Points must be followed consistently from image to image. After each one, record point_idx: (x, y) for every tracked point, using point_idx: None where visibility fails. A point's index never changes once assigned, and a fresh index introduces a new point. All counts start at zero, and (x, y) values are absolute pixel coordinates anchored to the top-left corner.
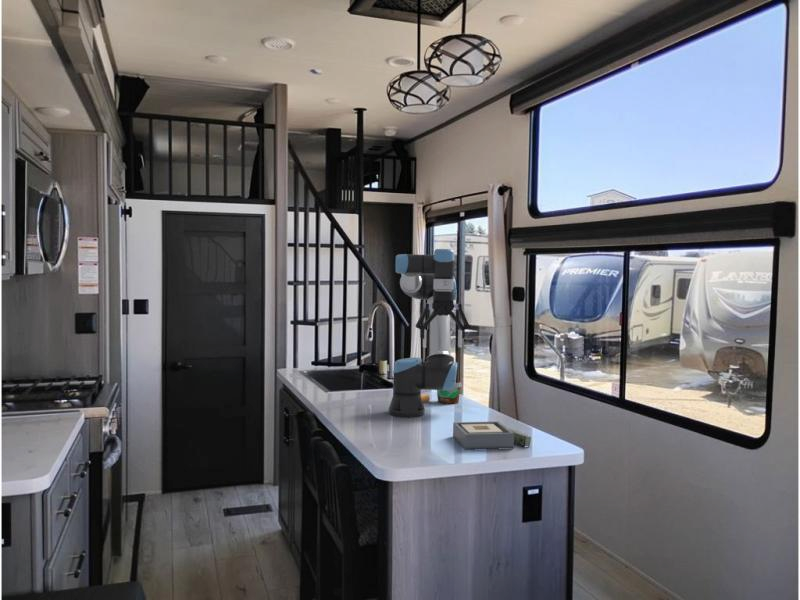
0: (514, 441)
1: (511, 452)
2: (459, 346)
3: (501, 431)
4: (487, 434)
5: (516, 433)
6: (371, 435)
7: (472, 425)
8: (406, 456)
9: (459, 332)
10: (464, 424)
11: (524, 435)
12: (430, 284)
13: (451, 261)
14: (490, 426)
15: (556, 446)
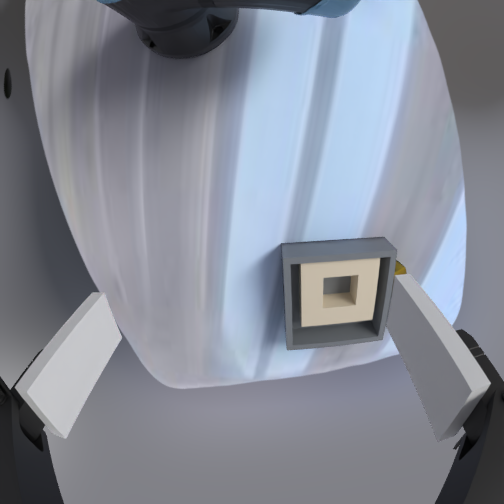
0: (391, 296)
1: None
2: (390, 321)
3: (370, 318)
4: (331, 345)
5: None
6: (106, 223)
7: (327, 273)
8: (181, 348)
9: (440, 403)
10: (310, 263)
11: None
12: None
13: None
14: (365, 282)
15: (444, 302)
